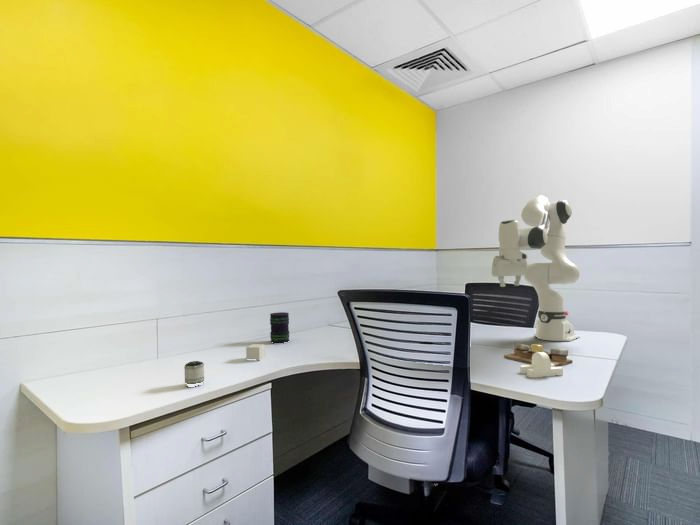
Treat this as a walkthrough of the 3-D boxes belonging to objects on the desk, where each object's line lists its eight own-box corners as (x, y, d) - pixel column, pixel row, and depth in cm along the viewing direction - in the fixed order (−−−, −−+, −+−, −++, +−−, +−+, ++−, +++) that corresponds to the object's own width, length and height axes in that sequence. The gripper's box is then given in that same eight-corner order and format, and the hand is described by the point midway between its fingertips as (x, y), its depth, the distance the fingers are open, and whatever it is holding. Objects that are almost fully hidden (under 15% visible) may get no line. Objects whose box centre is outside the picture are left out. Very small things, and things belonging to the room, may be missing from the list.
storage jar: (290, 339, 207) (289, 312, 207) (288, 343, 198) (288, 314, 198) (271, 340, 207) (271, 312, 207) (269, 344, 197) (268, 315, 197)
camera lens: (203, 381, 137) (202, 359, 137) (205, 386, 132) (205, 363, 131) (184, 384, 134) (183, 361, 134) (185, 389, 129) (185, 365, 129)
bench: (527, 352, 169) (526, 340, 169) (572, 362, 151) (572, 349, 151) (504, 357, 161) (503, 345, 161) (549, 368, 144) (548, 354, 144)
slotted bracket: (550, 370, 143) (550, 349, 143) (564, 375, 136) (563, 353, 136) (519, 372, 140) (518, 351, 140) (531, 378, 134) (530, 355, 133)
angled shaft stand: (551, 357, 155) (550, 347, 155) (568, 359, 152) (567, 348, 152) (550, 360, 152) (550, 349, 152) (567, 361, 149) (567, 351, 149)
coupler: (545, 357, 155) (545, 345, 155) (537, 358, 153) (537, 346, 154) (536, 355, 159) (536, 343, 159) (528, 356, 158) (528, 344, 158)
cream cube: (246, 361, 164) (246, 347, 164) (252, 357, 170) (252, 344, 170) (259, 361, 163) (259, 347, 163) (265, 358, 169) (265, 344, 169)
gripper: (499, 255, 166) (500, 287, 166) (529, 255, 176) (530, 285, 176) (487, 256, 171) (488, 286, 171) (517, 255, 181) (518, 284, 181)
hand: (509, 286), depth 174 cm, fingers open, 8 cm apart
